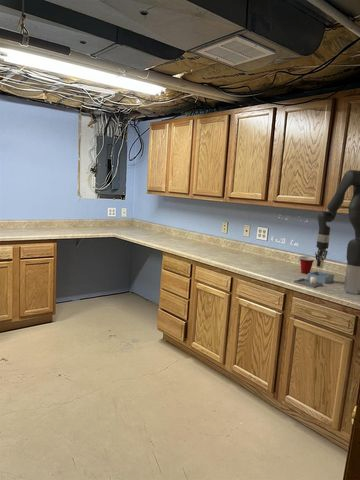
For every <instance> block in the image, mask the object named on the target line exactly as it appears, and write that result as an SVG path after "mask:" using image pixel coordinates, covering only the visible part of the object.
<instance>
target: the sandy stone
mask: <svg viewBox="0 0 360 480" xmlns="http://www.w3.org/2000/svg"><path fill="white" fill-rule="evenodd" d="M324 261H325V260H321V264H320V266H317V265H316V268H319V269H323V268H324V263H323V262H324Z"/></svg>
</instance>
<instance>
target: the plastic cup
mask: <svg viewBox="0 0 360 480" xmlns="http://www.w3.org/2000/svg"><path fill="white" fill-rule="evenodd" d="M314 260H316V257H313V256H310V255H301V256H299V261H300V262H299V263H300V273H301V274H304V275H308V273H311V270H312V266H313V263H314Z"/></svg>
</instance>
